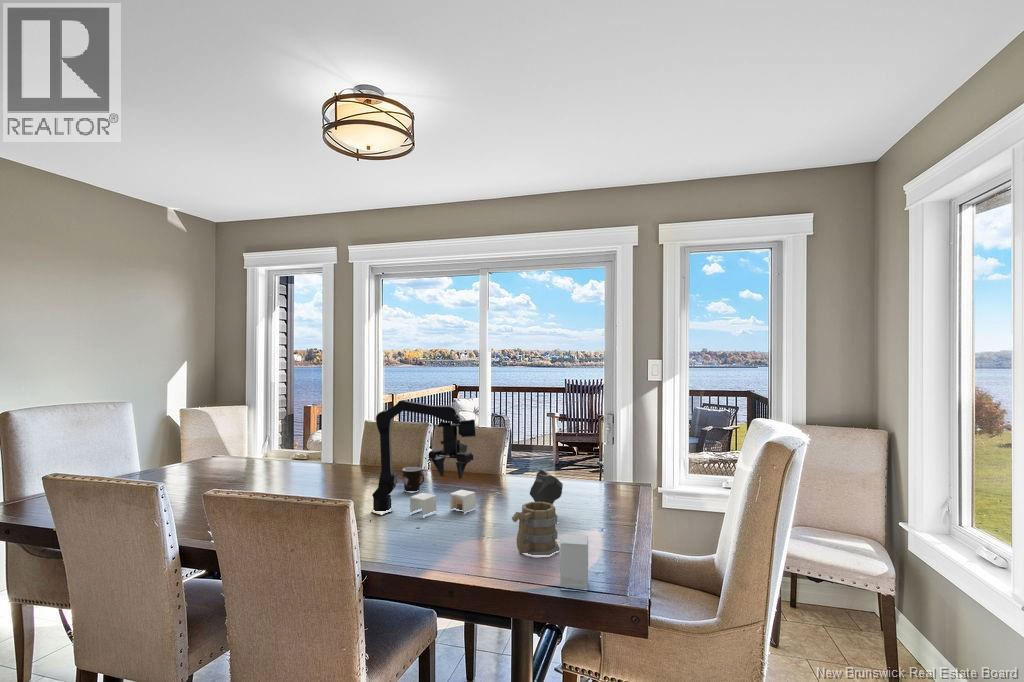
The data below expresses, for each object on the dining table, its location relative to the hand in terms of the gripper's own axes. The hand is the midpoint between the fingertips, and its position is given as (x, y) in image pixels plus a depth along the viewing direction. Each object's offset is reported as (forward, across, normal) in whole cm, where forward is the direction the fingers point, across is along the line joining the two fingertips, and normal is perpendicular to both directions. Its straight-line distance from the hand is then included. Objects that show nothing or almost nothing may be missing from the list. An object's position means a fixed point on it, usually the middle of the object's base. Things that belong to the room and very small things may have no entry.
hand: (451, 477), depth 205 cm
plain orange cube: (+14, -2, -4) cm, 14 cm away
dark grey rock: (+15, -33, -16) cm, 40 cm away
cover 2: (+14, -2, -4) cm, 14 cm away
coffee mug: (+13, +33, -12) cm, 37 cm away
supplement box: (+15, -69, +32) cm, 77 cm away
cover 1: (+13, +8, +8) cm, 17 cm away
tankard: (+15, -48, +19) cm, 53 cm away
